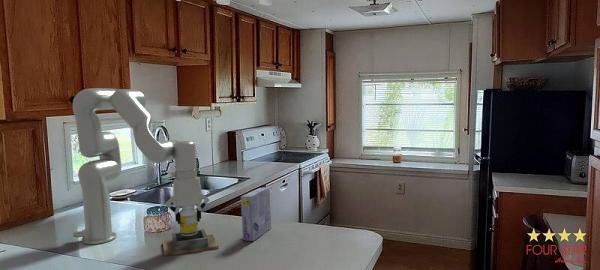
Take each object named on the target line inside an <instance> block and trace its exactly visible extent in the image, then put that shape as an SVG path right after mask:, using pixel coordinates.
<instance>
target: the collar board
mask: <svg viewBox="0 0 600 270" xmlns="http://www.w3.org/2000/svg"><path fill="white" fill-rule="evenodd" d="M171 237H172V239H170V240H163V241H162V246H163V247H162V248H163V255H164V257H169V256H175V255H176V256H177V255H182V254H183V255H184V254H190V253H191V254H192V253H197V252H203V251H210V250H217V249H219V243H218V242H217V240H216V238H215V235H214V234H207V233H206V232H205V229H204V228H201V229H198V233H197V234H195V235H192V236H182V235H181V234H180V231H179V232H178V231H177V232H172V233H171Z"/></svg>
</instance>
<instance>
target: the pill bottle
mask: <svg viewBox="0 0 600 270" xmlns="http://www.w3.org/2000/svg"><path fill="white" fill-rule="evenodd" d="M179 213H180V224H179V232H180V234H181V235H182V236H192V235H195V234H197V233H198V230H199V226H198V225H199V224H198V223H199V222H198V221H197V208H196V209H195V205H193V206H184V207H181V210H179Z"/></svg>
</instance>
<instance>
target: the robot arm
mask: <svg viewBox="0 0 600 270" xmlns="http://www.w3.org/2000/svg"><path fill="white" fill-rule="evenodd" d="M146 105H147V99H146V96H145V95H144V93H143V92H141V91H140V90H137V89H131V88H129V89H126V88H125V89H124V88H106V87H105V88H104V87H103V88H100V87H93V88H86V89H82V90H80V91H79V92H77V94H76V95H75V96H74V98H73V101H72V113H73V115H74V120H75V123H76V125H75V126H76V131H77V132H76V135H77V141H78V148H79V153H80V154H81V155H82V156H83V157H84V158H96V157H99V159H95V160H90V161H87V162H85V163H83V164H82V165H81V166H80V167H79V169H78V171H77V172H78V173H77V176H78V180H79V183H80V184H79V185H80V187H81V193H82V203H83V204H82V205H83V213H84V214H83V215H84V217H83V218H84V229H82V230H81V231H73V232H72V236H73V238H74V237H75V238H76V239H77V238H81V243H82V244H85V245H98V244H104V243H108V242H111V241H113V240H115V239H116V238H117V232H115V231H113V229H112V213H111V200H110V199H111V198H110V192H109V189H108V187H107V186H106V184H105V183H107V182H111V181H113V180H114V181H115V180H117V179H118V178H119V177H120V176H121V173H122V158H121V151H120V143H119V141H118V138H117V137H116V135H115V134H114V133H112V132H110V131H106V130H105V131H102V124H101V123H102V122H101V120H100V117H99V116H98V115H97V113H96V112H97V111H108V110H109V111H110V110H111V111H113V110H115V111H116V113H117V114H118V115H119V116H120V117H121V118H122V120H124V122H125V123H126V124H127V125H128V126H129V127H130V129H131V130H132V134H133V139H134V142H135V145H136V148H138V149H139V150H140V153H142V154H143V155H144V156H145V158H147V160H149V161H151V162H152V163H155V164H162V163H165V162H170V161H172V160H174V165H175V166H174V167H175V171H173V172H171V177H175V178H174V179H173V187H172V196H171V197H170V198H169V199H168V200H167V201H166V202H165V206H166V207H167V208H169V209H170V210H171V211H172V212H173V213H174V215H175V216H174V217H175V222H177V224H178V225H180V213H179V212H180V209H181V208H182V207H184V206H193V205H194V206H196V210H197V221H198V223H199V222H201V219H202V210H203V209H204V208H205V207H206V205H207V204H208V203H209V202H210V199H209V198H208V197H207V196H206V195H205V194H203V193H202V185H201V181H200V177H199V176H198V172H197V153H196V152H197V150H196V149H197V147H196V144H195V141H192V140H182V141H179V140H174V139H170V140H169V139H168V140H162V141H158V140H157V139H156V138H155V137H154V136H153V134H152V133H151V131H150V128H149V125H150V124H151V123H152V120H153V116H152V115H151V114H150V113H149V111H148V110H147V109H146V108H145V106H146ZM172 203H173V205H172Z"/></svg>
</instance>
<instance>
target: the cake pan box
mask: <svg viewBox="0 0 600 270" xmlns="http://www.w3.org/2000/svg"><path fill="white" fill-rule="evenodd" d="M270 191H271V190H270V187H269V186H268V187H267V186H266V187H259V188H257V189H254V190H252V191H250V192H247V193H245V194H243V195H241V196H240V208H241V210H240V211H241V223H242V225H241V226H242V239H243V241H244V242H245V241H246V242H252V243H253V242H255V241H256V240H257V239H258V238H260V237H262V236H264V235H265V234H266V233H267V232H268V231H269V230H271V229H272V214H271V211H272V210H271V197H270V196H271V193H270Z"/></svg>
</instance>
